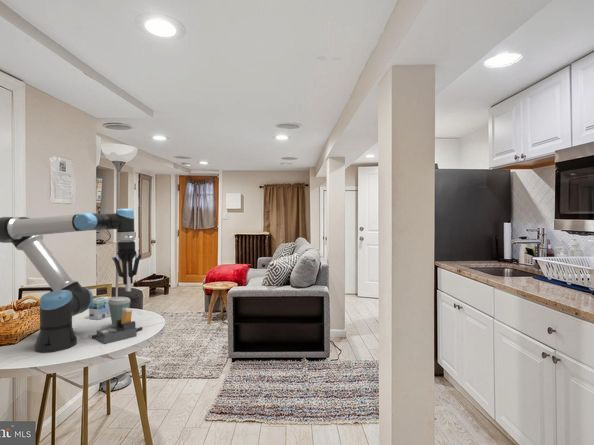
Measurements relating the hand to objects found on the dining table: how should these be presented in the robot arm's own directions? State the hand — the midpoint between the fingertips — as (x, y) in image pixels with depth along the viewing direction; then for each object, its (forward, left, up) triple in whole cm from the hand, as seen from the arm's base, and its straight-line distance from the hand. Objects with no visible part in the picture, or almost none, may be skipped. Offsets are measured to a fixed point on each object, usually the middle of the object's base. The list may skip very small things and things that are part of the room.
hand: (128, 291), depth 170 cm
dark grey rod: (-3, +8, -21) cm, 23 cm away
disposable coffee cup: (+3, +18, -21) cm, 28 cm away
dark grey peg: (+6, +4, -21) cm, 22 cm away
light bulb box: (+4, +46, -22) cm, 51 cm away
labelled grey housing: (-5, +1, -21) cm, 22 cm away
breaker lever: (-1, +1, -16) cm, 16 cm away
